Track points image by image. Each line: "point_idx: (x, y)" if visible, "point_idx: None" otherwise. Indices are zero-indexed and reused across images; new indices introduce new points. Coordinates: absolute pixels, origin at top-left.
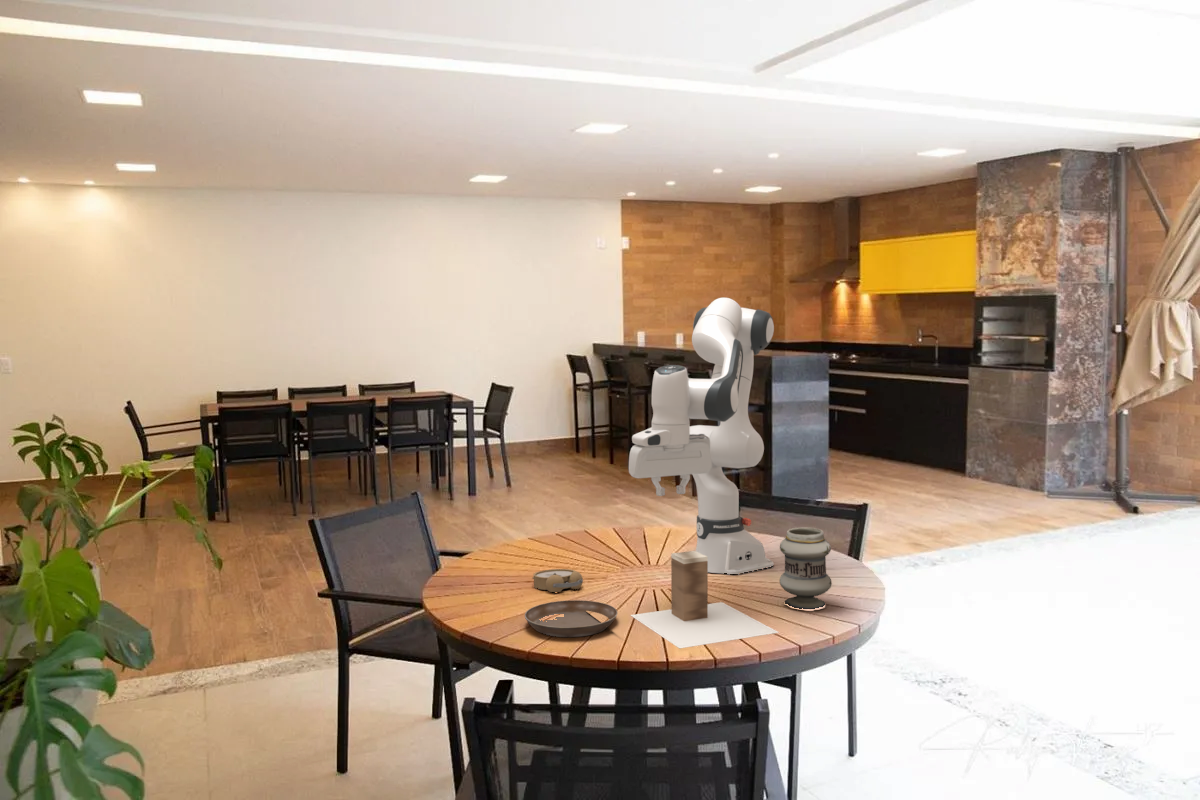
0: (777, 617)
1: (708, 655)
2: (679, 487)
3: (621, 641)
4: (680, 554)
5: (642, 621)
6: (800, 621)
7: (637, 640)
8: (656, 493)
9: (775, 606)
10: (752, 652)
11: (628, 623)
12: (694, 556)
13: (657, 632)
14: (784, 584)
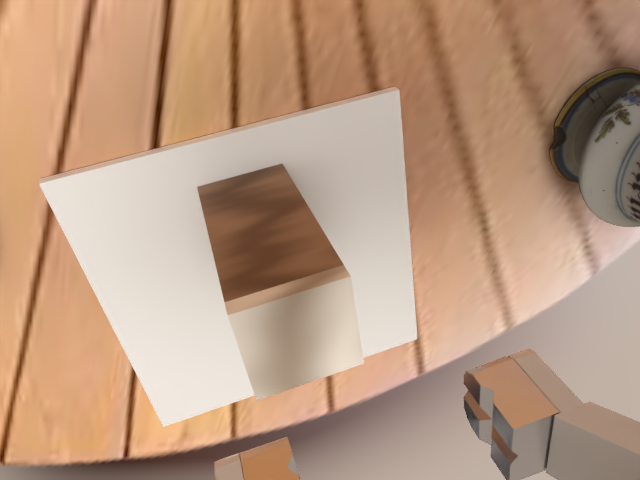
0: (480, 215)
1: (224, 429)
2: (504, 472)
3: (7, 364)
4: (265, 332)
5: (83, 249)
6: (509, 248)
7: (58, 357)
8: (217, 474)
9: (529, 124)
10: (318, 411)
11: (32, 224)
12: (314, 361)
13: (122, 338)
14: (586, 177)
